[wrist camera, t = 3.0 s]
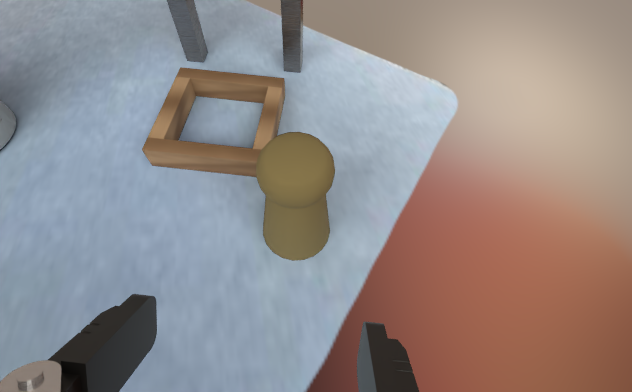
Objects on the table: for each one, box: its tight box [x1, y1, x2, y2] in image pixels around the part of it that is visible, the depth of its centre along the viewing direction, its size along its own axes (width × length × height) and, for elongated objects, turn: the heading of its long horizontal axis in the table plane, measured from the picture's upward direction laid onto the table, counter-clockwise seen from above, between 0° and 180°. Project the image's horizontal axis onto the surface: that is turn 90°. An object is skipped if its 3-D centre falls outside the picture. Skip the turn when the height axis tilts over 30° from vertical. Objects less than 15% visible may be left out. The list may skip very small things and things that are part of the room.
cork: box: [256, 132, 335, 260], centre depth 25 cm, size 6×6×11 cm
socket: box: [142, 68, 285, 177], centre depth 35 cm, size 12×12×2 cm
